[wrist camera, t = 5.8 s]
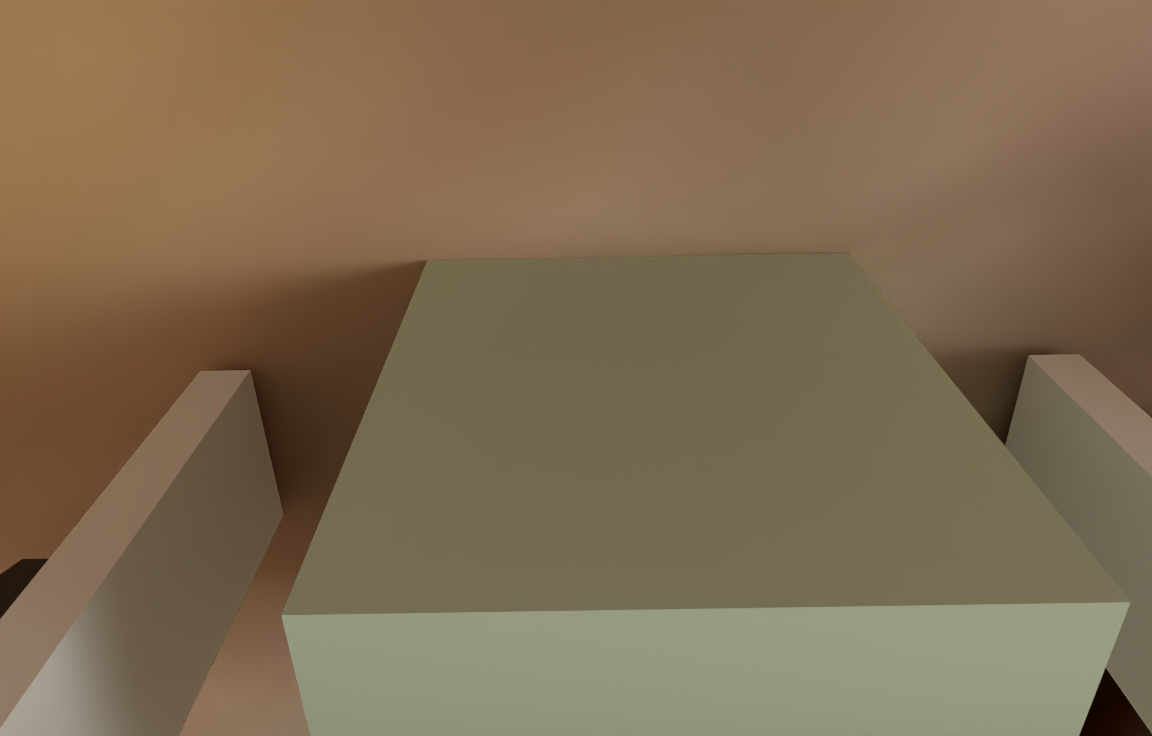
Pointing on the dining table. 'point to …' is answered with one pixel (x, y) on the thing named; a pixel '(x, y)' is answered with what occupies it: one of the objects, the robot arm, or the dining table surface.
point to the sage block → (685, 521)
